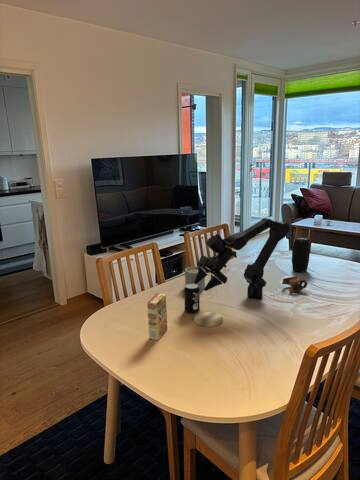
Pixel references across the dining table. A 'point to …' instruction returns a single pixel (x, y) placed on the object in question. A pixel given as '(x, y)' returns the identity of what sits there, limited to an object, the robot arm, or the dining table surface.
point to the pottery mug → (295, 284)
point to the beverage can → (191, 298)
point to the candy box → (157, 316)
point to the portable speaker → (300, 254)
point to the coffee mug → (193, 277)
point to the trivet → (208, 319)
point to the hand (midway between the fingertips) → (199, 286)
